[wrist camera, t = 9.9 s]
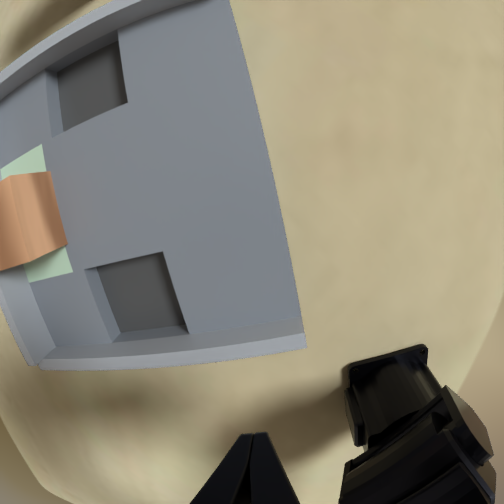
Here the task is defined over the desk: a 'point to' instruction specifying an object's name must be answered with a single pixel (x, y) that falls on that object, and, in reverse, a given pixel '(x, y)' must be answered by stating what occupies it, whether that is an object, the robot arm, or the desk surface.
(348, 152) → the desk surface
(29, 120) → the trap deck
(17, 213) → the block
